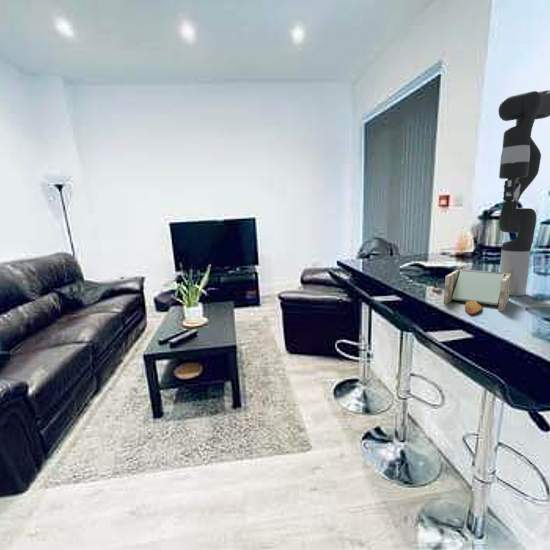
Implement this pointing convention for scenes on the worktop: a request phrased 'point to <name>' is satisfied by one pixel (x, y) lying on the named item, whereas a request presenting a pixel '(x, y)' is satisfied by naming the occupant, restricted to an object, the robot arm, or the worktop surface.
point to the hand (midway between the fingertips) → (509, 214)
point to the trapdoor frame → (452, 281)
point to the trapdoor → (478, 286)
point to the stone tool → (472, 307)
